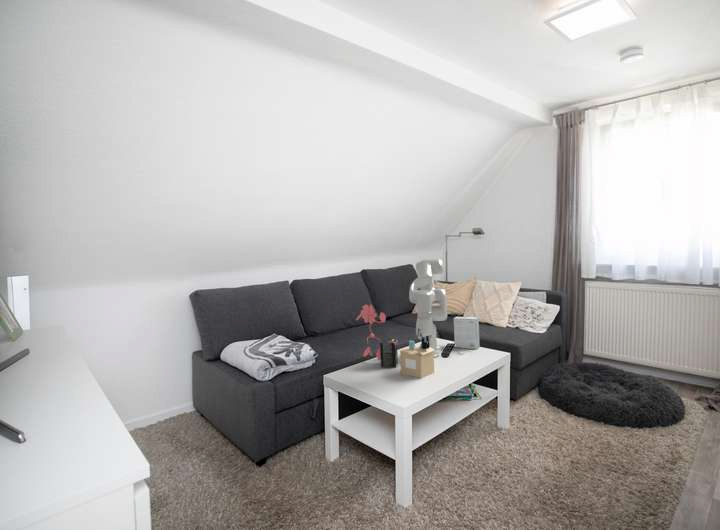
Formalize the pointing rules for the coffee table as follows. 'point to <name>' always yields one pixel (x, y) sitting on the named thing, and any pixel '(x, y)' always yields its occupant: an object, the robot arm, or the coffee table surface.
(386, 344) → the tampon box
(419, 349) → the flap
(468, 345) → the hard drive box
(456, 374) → the coffee table surface
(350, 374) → the coffee table surface
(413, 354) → the carton
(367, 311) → the figurine
